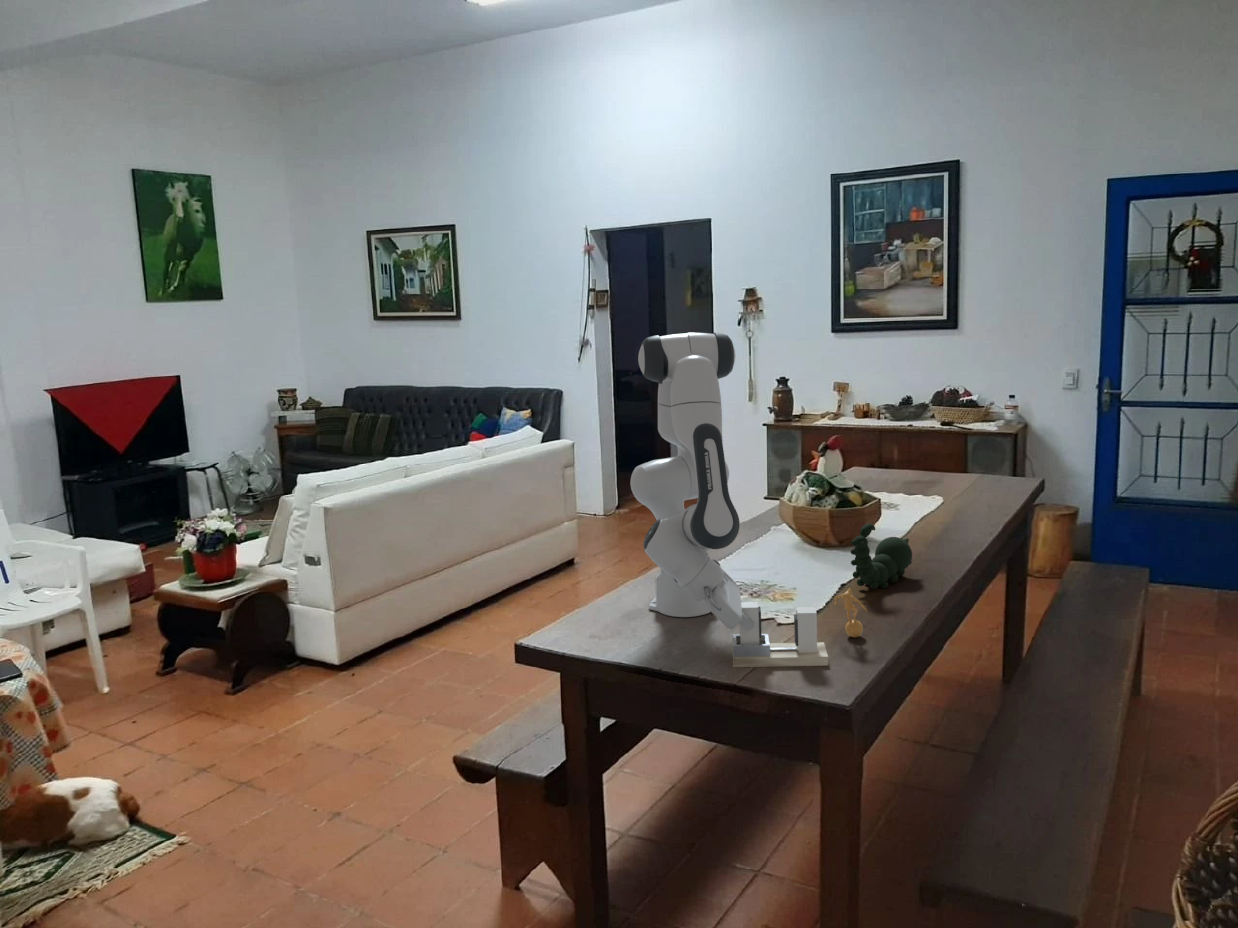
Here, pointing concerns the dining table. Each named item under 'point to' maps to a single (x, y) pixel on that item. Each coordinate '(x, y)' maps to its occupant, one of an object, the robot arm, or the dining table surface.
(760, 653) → the rail
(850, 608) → the figurine
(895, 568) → the toy figurine
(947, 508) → the dining table surface
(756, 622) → the block
